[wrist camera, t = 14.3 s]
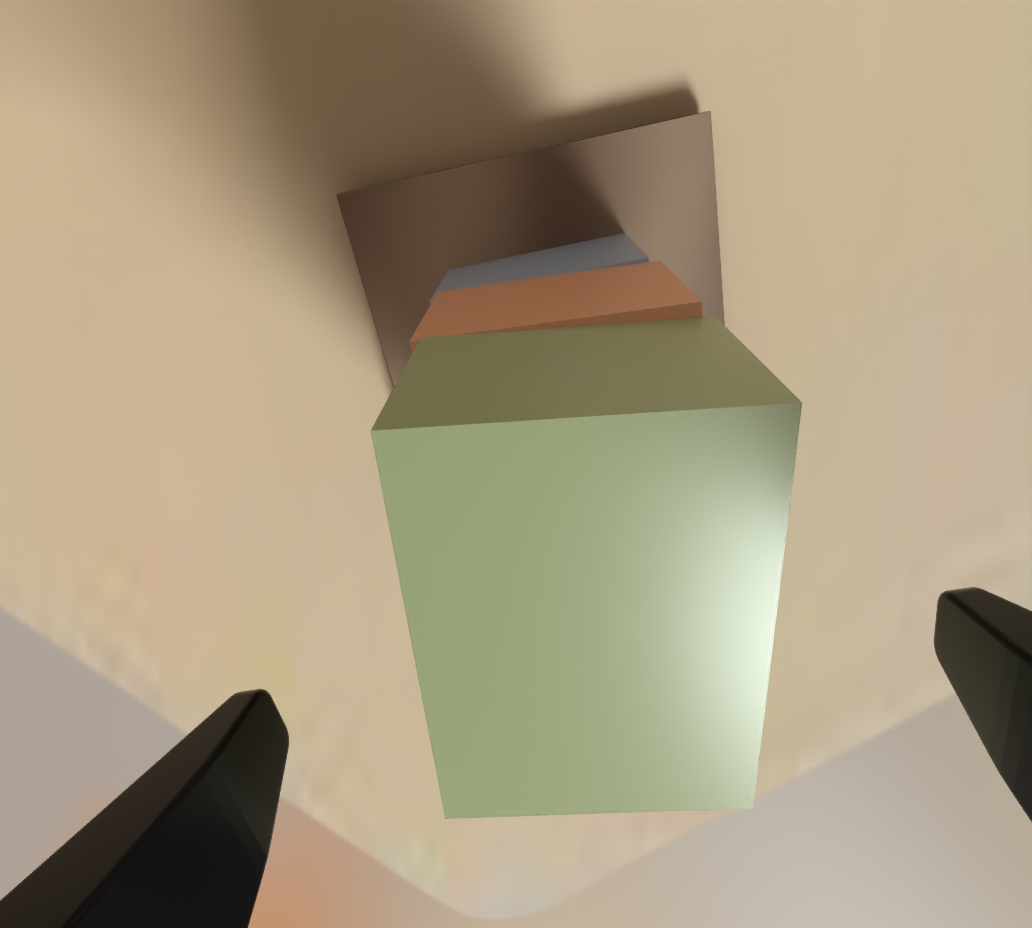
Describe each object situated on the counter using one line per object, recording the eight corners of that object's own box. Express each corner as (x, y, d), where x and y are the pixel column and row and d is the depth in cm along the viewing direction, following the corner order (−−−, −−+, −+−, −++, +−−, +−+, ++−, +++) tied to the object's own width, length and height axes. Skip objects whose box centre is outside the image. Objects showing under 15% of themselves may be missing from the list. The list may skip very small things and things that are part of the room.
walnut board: (704, 112, 17) (710, 111, 17) (731, 502, 23) (736, 511, 22) (341, 193, 18) (336, 195, 18) (447, 548, 24) (445, 558, 23)
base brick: (625, 233, 18) (648, 257, 15) (653, 458, 21) (678, 523, 18) (448, 269, 19) (429, 301, 15) (500, 484, 22) (494, 552, 18)
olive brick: (715, 315, 11) (802, 402, 8) (697, 639, 14) (752, 808, 11) (420, 337, 11) (371, 431, 8) (466, 649, 14) (445, 818, 11)
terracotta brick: (660, 260, 15) (702, 301, 11) (672, 528, 18) (708, 628, 14) (437, 291, 15) (408, 341, 11) (487, 548, 18) (477, 650, 15)
